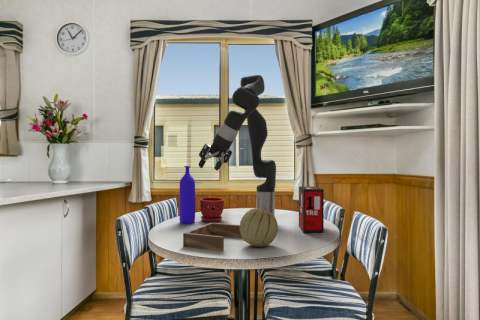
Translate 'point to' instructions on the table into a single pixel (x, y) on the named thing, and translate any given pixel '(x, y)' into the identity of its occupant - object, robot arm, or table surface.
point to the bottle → (187, 198)
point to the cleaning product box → (311, 210)
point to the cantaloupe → (258, 227)
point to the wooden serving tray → (210, 236)
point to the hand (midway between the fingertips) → (208, 168)
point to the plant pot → (211, 209)
